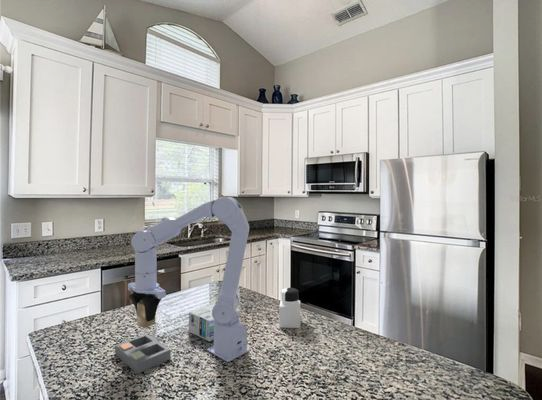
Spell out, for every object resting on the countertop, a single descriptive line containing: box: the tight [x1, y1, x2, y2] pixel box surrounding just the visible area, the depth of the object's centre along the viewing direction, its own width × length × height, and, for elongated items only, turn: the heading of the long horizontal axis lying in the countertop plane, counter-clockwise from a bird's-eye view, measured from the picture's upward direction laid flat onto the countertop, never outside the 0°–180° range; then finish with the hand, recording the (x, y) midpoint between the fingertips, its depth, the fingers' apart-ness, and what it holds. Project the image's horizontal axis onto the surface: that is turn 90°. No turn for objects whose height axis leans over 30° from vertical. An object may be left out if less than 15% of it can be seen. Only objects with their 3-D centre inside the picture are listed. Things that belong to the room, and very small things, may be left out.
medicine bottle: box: [278, 287, 301, 329], centre depth 102 cm, size 7×7×12 cm
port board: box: [114, 333, 172, 375], centre depth 81 cm, size 14×9×3 cm, turn 49°
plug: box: [136, 300, 156, 329], centre depth 85 cm, size 3×3×7 cm
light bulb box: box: [188, 303, 216, 342], centre depth 96 cm, size 11×7×11 cm
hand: (146, 318), depth 85 cm, fingers closed on plug, 3 cm apart
